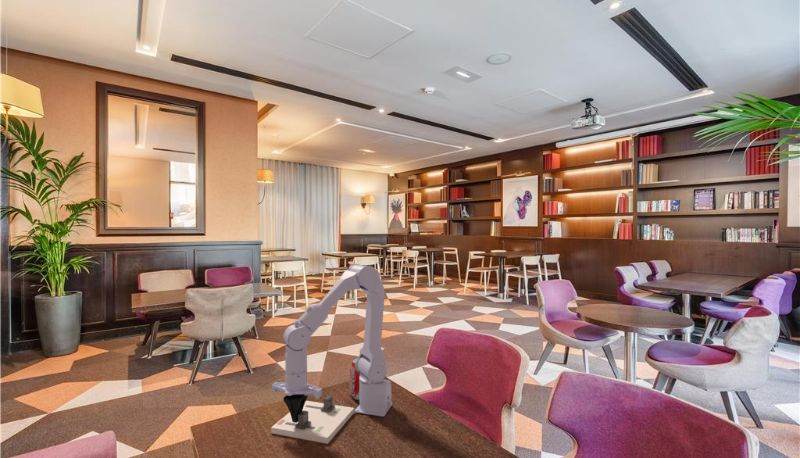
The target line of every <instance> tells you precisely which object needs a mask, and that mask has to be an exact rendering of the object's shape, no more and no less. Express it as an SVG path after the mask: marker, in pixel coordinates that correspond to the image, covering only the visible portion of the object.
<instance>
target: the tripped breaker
mask: <svg viewBox="0 0 800 458" xmlns="http://www.w3.org/2000/svg"><path fill="white" fill-rule="evenodd" d="M310 424H311V421H308V411H304V410H303V411H302V412H301V413H300V414H298V423H297V424H296V425H295V428H300V429H306V428H307V427H308V426H309V425H310Z"/></svg>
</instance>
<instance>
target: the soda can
mask: <svg viewBox="0 0 800 458" xmlns="http://www.w3.org/2000/svg"><path fill="white" fill-rule="evenodd" d="M358 357H359V356H357V357H354V358H352V359H351V363H350V365H349V393H350V394H349V396H350V397H351V398H352V399H354V400H356V401H360V383H359V380H360V379H359V378H360V372H359V371H358V370H357V368H356V361H357V359H358Z"/></svg>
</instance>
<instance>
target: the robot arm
mask: <svg viewBox="0 0 800 458" xmlns="http://www.w3.org/2000/svg"><path fill="white" fill-rule="evenodd" d="M355 290H362V292H364V294H365V295H366V306H365V317H364V318H365V319H364V322H365V323H364V332H363V333H364V335H363V346H362V347H361V348H360V350H359V355H358V356H357V357H358V359H357V361H356V368H357V370H358V371H359V372H360V378H359V379H360V380H359V383H360V400H359V405H357V407H356V408H354V413H355V414H356V413H358V414H363V415H368V416H369V415H370V416H377V417H381V418H382V417H385V416H386V414H387V413H388V411H389V410H390V409H391V407H392V406H393V402H392V382H391V381H390V380H387V379H386V378H385V377H386V375H387V374H388V372H387V371H388V368H387V365H386V356H385V353H384V352H383V349H382V338H383V335H382V334H383V325H384V324H383V323H384V322H383V320H384V308H385V291H386V290H385V287H384V285H383V282H382V279H381V273H380V272H379V271H378V270H377V269H376V268H375V267H373V266H371V265H364V264H359V263H354V264H352V265H350V266H349V267H348V269H347V270H345V271H344V272H343V273H342V274H341V276H340V278H339V279H338V281H336V283H335V284H334V285H333V286H332V287H331V289H330V290H328V292H327V293H326V294H325V296H324V297H323V298H322V300H320V301H319V302H318V303H312V304H311V306H310V305H307V307H305V311H304V313H303V314H302V315H300V317H299V318H298V319H297V320H296V319H295V320H294V321H293V324H292V325H289V326H288V327H287V328H286V329H285V331H284V333H283V335H282V340H283V342H284V344H285V355H284V357H285V358H284V360H285V361H284V362H285V363H284V365H285V367H284V368H285V371H284V373H285V374H284V375H285V377H284V379H285V382H278V381H276V382H274V383H272V384H271V392H272V393H276V392H280V393H284V395H285V396H283V402H284V403H285V404H286V407H287V409H288V410H289V411H288V412H290V414H291V418H292V422H295V423H297V422H298V414H300V413H301V412H302V410H303V407H304V404H305V402H306V401H308V397H311V398H312V397H313V398H314V399H319V398H321V397H322V396H323V393H322V392H323V391H322V390H323V388H321V387H317V386H315V385H312V384H310V383H308V346H309V345H310V343H311V337H312V336H313V335H314V333H315V332H316V331H317V330H318V329H319V328H320V326H322V324H323V323H324V322H325V321H326V320H327V319H328V317H329V311H330V310H331V309H332V308H333V307H334V306H335V305H336V304H337V303H338V302H339V300H341V299H342V297H344V295H346V294H347V293H348V292H349V291H350V292H351V291H355Z"/></svg>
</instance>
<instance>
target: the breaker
mask: <svg viewBox="0 0 800 458" xmlns="http://www.w3.org/2000/svg"><path fill="white" fill-rule="evenodd" d="M323 403H324V406H323V407H322V408H321V411H326V412H331V411H332V410H333V409H334V408H335V404H333V395H328V394H327V395H325V397H324V398H323Z"/></svg>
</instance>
